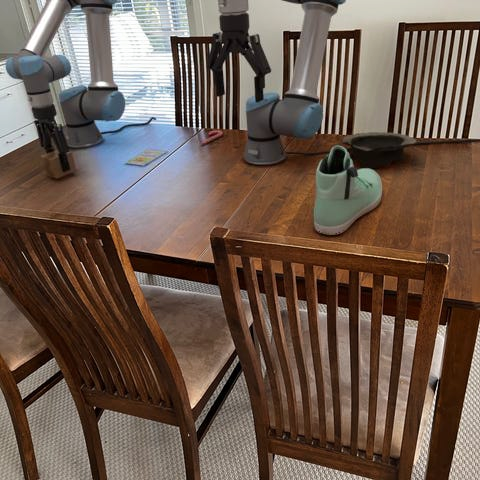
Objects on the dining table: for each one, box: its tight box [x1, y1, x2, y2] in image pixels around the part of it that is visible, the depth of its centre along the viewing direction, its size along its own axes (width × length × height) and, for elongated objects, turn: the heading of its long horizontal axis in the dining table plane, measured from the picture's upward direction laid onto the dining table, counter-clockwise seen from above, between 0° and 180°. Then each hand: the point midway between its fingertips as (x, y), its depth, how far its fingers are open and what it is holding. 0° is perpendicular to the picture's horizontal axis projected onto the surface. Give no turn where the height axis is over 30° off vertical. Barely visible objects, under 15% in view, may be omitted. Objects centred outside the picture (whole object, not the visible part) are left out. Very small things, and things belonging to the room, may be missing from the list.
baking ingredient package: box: [124, 149, 166, 166], centre depth 185 cm, size 9×1×15 cm
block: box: [40, 149, 77, 180], centre depth 172 cm, size 7×8×7 cm
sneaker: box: [313, 145, 383, 236], centre depth 133 cm, size 14×35×20 cm, turn 152°
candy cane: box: [200, 130, 224, 146], centre depth 198 cm, size 6×15×2 cm, turn 145°
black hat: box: [341, 131, 418, 169], centre depth 166 cm, size 25×25×9 cm
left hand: (60, 168), depth 173 cm, fingers closed on block, 7 cm apart
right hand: (239, 98), depth 131 cm, fingers open, 13 cm apart
